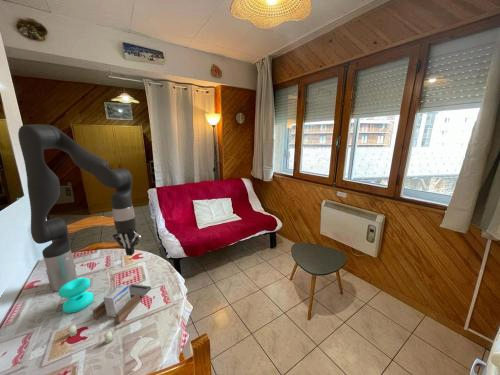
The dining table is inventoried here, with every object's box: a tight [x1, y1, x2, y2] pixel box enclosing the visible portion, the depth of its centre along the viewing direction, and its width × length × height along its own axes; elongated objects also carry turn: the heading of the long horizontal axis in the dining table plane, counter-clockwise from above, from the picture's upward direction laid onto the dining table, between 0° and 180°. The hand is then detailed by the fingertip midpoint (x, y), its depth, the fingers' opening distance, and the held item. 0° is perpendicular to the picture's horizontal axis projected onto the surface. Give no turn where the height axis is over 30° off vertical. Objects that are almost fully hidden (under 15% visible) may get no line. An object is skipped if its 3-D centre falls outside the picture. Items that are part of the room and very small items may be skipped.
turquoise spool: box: [57, 277, 95, 314], centre depth 83 cm, size 10×10×10 cm
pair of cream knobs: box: [67, 324, 114, 345], centre depth 69 cm, size 17×2×3 cm, turn 79°
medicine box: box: [103, 283, 132, 318], centre depth 81 cm, size 8×4×9 cm, turn 168°
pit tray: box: [129, 283, 152, 299], centre depth 91 cm, size 10×6×1 cm, turn 79°
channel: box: [92, 293, 142, 324], centre depth 81 cm, size 11×11×4 cm
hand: (130, 254), depth 87 cm, fingers closed
